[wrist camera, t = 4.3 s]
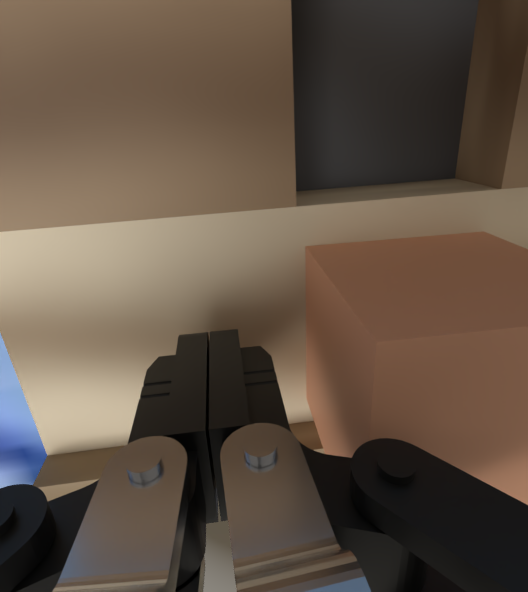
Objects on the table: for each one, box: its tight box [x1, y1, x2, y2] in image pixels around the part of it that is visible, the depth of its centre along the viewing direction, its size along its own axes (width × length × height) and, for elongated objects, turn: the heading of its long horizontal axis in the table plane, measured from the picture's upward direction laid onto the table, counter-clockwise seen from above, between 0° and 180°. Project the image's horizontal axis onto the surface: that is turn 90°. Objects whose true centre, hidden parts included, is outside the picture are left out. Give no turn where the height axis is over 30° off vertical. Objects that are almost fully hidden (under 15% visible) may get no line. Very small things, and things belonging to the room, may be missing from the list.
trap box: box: [0, 0, 528, 501], centre depth 11 cm, size 16×22×4 cm
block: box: [305, 232, 528, 505], centre depth 9 cm, size 5×5×5 cm
